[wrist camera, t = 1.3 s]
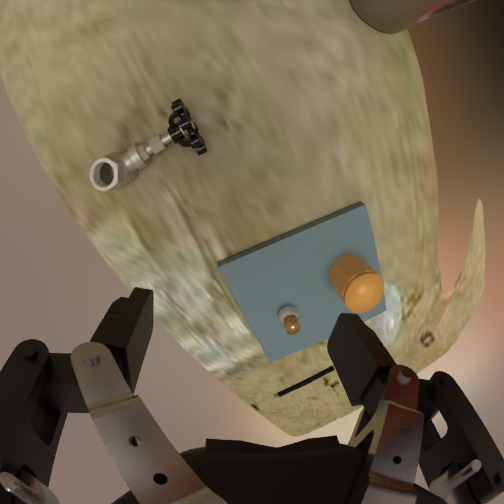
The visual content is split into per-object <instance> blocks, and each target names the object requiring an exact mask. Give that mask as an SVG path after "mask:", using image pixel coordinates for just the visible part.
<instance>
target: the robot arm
mask: <svg viewBox="0 0 504 504" xmlns="http://www.w3.org/2000/svg"><path fill="white" fill-rule="evenodd" d="M350 1H351V4H352V6H353V9H354V10H355V11H356V13H357V14H358V15H359V16H360V17H361V19H363V20H364V21H365V22H366V23H367V24H369V25H370V26H372V27H373V28H375V29H377V30H379V31H382V32H385V33H390V34H391V33H397V32H400V31H402V30H404V29H406V28H408V27H410V26H412V25H414V24H417V23H419V22H421V21H423V20H426V19H428V18H430V17H432V16H435V15H437V14H440V13H442V12H444V11H447V10H450V9H452V8H455V7H457V6H460V5H463V4H465V3H468V2H471V1H475V0H350ZM152 330H153V290H149V289H143V288H138V287H135V288H134V289H133V291H132V293H131V295H130V297H129V298H125V297H120V298H119V299H117V300H116V301H115V302H113V303H112V304H111V306H110V308H109V309H108V312H107V313H106V314H105V316H104V319H102V321H101V323H100V324H99V326H98V328H97V330H96V331H95V333H94V335H93V337H92V338H91V340H90V342H85V343H82V344H80V345H78V346H77V347H75V348H74V350H73V351H72V353H70V354H63V353H49V351H48V348H47V346H46V345H45V344H44V343H43V342H41V341H39V340H35V339H30V340H25V341H23V342H21V343H20V344H18V345H17V346H16V348H15V349H14V351H13V352H12V354H11V355H10V357H9V358H8V360H7V362H6V363H5V365H4V367H3V368H2V370H1V371H0V504H60V503H59V501H58V499H57V497H56V496H55V494H54V493H53V492H52V491H51V490H50V489H49V488H48V486H49V481H50V476H51V472H52V467H53V463H54V459H55V455H56V451H57V447H58V444H59V440H60V436H61V433H62V430H63V427H64V423H65V420H66V417H67V414H68V412H69V413H70V412H71V413H90V415H91V417H92V420H93V422H94V424H95V426H96V429H97V431H98V433H99V435H100V437H101V439H102V441H103V443H104V445H105V447H106V449H107V451H108V453H109V455H110V456H111V458H112V460H113V462H114V464H115V465H116V467H117V469H118V470H119V472H120V474H121V476H122V477H123V479H124V481H125V482H126V484H127V485H128V487H129V488H130V490H129V491H128V492H127V493H125V494H124V495H123V496H121V497H120V498H118V499H117V500H116V501H114V502H113V503H111V504H486V503H488V502H489V501H491V500H492V499H494V498H495V497H497V496H498V495H499V494H501V493H502V492H504V459H503V457H502V455H501V453H500V452H499V450H498V448H497V446H496V444H495V443H494V441H493V439H492V437H491V436H490V434H489V432H488V430H487V429H486V427H485V426H484V424H483V422H482V421H481V419H480V417H479V416H478V414H477V413H476V411H475V410H474V408H473V406H472V405H471V403H470V402H469V401H468V399H467V397H466V396H465V394H464V393H463V391H462V390H461V389H460V387H459V386H458V384H457V383H456V381H455V380H454V379H453V378H452V377H451V376H450V375H449V374H447V373H445V372H442V371H437V372H435V373H434V374H433V376H432V377H431V378H430V380H425V379H419V378H418V376H417V374H416V373H415V372H414V371H413V370H412V369H411V368H409V367H407V366H404V365H397V364H396V363H395V361H394V360H393V358H392V357H391V355H390V354H389V352H388V351H387V349H386V348H385V347H384V346H383V344H382V342H381V341H380V340H379V338H378V337H377V335H376V334H375V332H374V331H373V330H372V329H370V328H369V327H368V326H367V325H365V323H364V322H363V321H362V319H361V318H360V316H359V315H358V314H353V313H341V314H340V315H339V316H338V319H337V321H336V323H335V326H334V328H333V331H332V333H331V335H330V338H329V340H328V345H327V349H328V353H329V356H330V358H331V360H332V362H333V364H334V367H335V369H336V371H337V373H338V375H339V378H340V380H341V382H342V384H343V387H344V389H345V391H346V393H347V396H348V398H349V400H350V403H351V405H352V406H357V405H363V406H364V408H363V410H362V411H361V413H360V415H359V418H358V421H357V423H356V426H355V428H354V431H353V433H352V436H351V438H350V441H349V443H348V445H345V444H339V441H338V438H337V436H328V437H320V438H310V439H306V440H303V441H299V442H296V443H293V444H289V445H286V446H282V447H276V448H275V447H269V446H264V445H259V444H254V443H249V442H245V441H239V440H238V441H237V440H218V439H206V444H205V447H201V448H195V449H191V450H187V451H184V452H182V453H180V454H179V453H178V452H177V450H176V449H175V448H174V447H173V445H172V444H171V442H170V441H169V440H168V438H167V437H166V435H165V434H164V433H163V431H162V430H161V429H160V427H159V425H158V424H157V423H156V421H155V420H154V418H153V417H152V415H151V414H150V412H149V411H148V409H147V407H146V406H145V404H144V403H143V401H142V400H141V398H140V397H139V396H138V395H136V396H134V395H133V394H134V391H135V387H136V384H137V380H138V377H139V373H140V370H141V367H142V364H143V360H144V357H145V354H146V351H147V347H148V344H149V341H150V338H151V335H152ZM438 411H440V413H441V414H442V416H443V418H444V420H445V421H446V423H447V426H448V431H447V433H446V435H445V436H444V437H443V438H442V439H441V438H440V435H439V433H438V432H437V430H436V428H435V426H434V424H433V422H432V420H431V419H432V418H433V417H434V416H435V415H436V414H437V412H438ZM418 463H419V466H420V468H421V470H422V473H423V475H424V478H425V480H426V483H427V485H428V488H429V491H428V490H426V489H424V488H422V487H420V486H419V485H417V484H415V483H414V481H415V477H416V472H417V467H418Z"/></svg>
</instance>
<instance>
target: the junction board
mask: <svg viewBox="0 0 504 504" xmlns="http://www.w3.org/2000/svg"><path fill="white" fill-rule="evenodd" d="M348 253H351V254H353V255H356V256H358V257H361V258H362V259H363V260H364V261H365V262H367V263H368V264H369V265H370V266H371V267H372V268H373V269H374V270H375V271H376V272H377V273H378V274H379V275H380V278H381V273H380V267H379V262H378V257H377V252H376V247H375V242H374V237H373V233H372V229H371V224H370V220H369V216H368V212H367V208H366V205H365V204H364V203H362V202H358V203H356V204H354V205H351V206H349V207H347V208H344V209H342V210H340V211H337V212H335V213H332V214H330V215H328V216H325V217H323V218H321V219H318V220H316V221H314V222H311V223H309V224H307V225H304V226H302V227H300V228H297V229H295V230H292V231H290V232H288V233H285V234H283V235H281V236H278V237H276V238H274V239H271V240H269V241H267V242H264V243H262V244H260V245H257V246H255V247H253V248H250V249H248V250H246V251H243V252H241V253H239V254H236V255H234V256H232V257H229V258H227V259H225V260H222V261H220V262H218V269H219V270H220V272H221V274H222V276H223V278H224V280H225V282H226V284H227V285H228V287H229V289H230V291H231V293H232V295H233V296H234V298H235V300H236V302H237V304H238V306H239V307H240V309H241V311H242V313H243V315H244V316H245V318H246V320H247V322H248V324H249V325H250V327H251V329H252V331H253V332H254V334H255V336H256V338H257V340H258V341H259V343H260V345H261V346H262V348H263V350H264V352H265V353H266V355H267V357H268V359H269V360H270V362H271V361H273V360H276V359H279V358H281V357H284V356H287V355H289V354H292V353H294V352H297V351H299V350H302V349H304V348H307V347H309V346H311V345H314V344H316V343H319V342H321V341H323V340H325V339H328V338H330V335H331V333H332V331H333V328H334V326H335V323H336V321H337V319H338V316H339V315H340V314H341V313H353V314H358V315H359V316H360V318H361V319H362V321H363V322H364V321H366V320H368V319H370V318H372V317H374V316H376V315H378V314H380V313H382V312H384V311H386V304H385V297H384V294H383V297H382V299H381V300H380V302H379V303H378V304H377V305H376V306H375V307H374V308H373V309H371V310H369V311H367V312H364V313H355V312H352V311H351V310H350V309H349V308H347V307H345V305H344V304H343V302H342V301H341V299H340V298H339V296H338V295H337V293H336V292H335V291H334V289H333V288H332V286H331V283H330V280H329V276H328V272H329V270H330V268H331V266H332V264H333V262H334V261H335V259H337V258H339V257H341V256H344V255H346V254H348ZM381 279H382V278H381ZM284 304H292V305H294V306H295V307H296V310H297V312H298V314H299V317H300V320H299V322H298V323H299V325H300V331H299V332H298V333H297V334H294V335H290V334H288V333H287V332H286V329H285V327H283V326H282V325H281V323H280V320H279V316H278V309H279V308H280V307H281V306H282V305H284Z"/></svg>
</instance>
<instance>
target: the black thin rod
mask: <svg viewBox="0 0 504 504" xmlns="http://www.w3.org/2000/svg"><path fill="white" fill-rule="evenodd" d="M334 370H335V369H334V367H333V366H331V367H329V368H327V369H325V370H324V371H322V372H320V373H318V374H317V375H315V376H313V377H311V378H308V379H306V380H304V381H302V382H300V383H298V384H295V385H293V386H292V387H290V388H288V389H286V390H284V391H282V392H279V393H278V394H275V395H274V397H275V398H278V397H281V396H283V395H285V394H287V393H289V392H291V391H293V390H296V389H298V388H300V387H303V386H305V385H307V384H309V383H311V382H313V381H315V380H316V379H318V378H320V377H322V376H323V375H325V374H328V373H330V372H332V371H334ZM276 396H277V397H276Z"/></svg>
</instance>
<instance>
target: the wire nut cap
mask: <svg viewBox="0 0 504 504" xmlns="http://www.w3.org/2000/svg"><path fill="white" fill-rule="evenodd" d="M328 276H329V280H330V283H331V286H332V288H333V289H334V291H335V292H336V293H337V295H338V296H339V298H340V299H341V301H342V302H343V304H344V305H345V307H347V308H349V309H350V310H351V311H352V312H355V313H364V312H367V311H369V310H371V309H373V308H374V307H375V306H376V305H377V304H378V303H379V302H380V300H381V299H382V297H383V294H384V282H383V280H382V279H381V278H380V275H379V274H378V273H377V272H376V271H375V270H374V269H373V268H372V267H371V266H370V265H369V264H368V263H367V262H365V261H364V260H363V259H362V258H361V257H358V256H356V255H353V254H351V253H348V254H346V255H344V256H341V257H339V258H337V259H335V261H334V262H333V264H332V266H331V268H330V270H329V272H328Z"/></svg>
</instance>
